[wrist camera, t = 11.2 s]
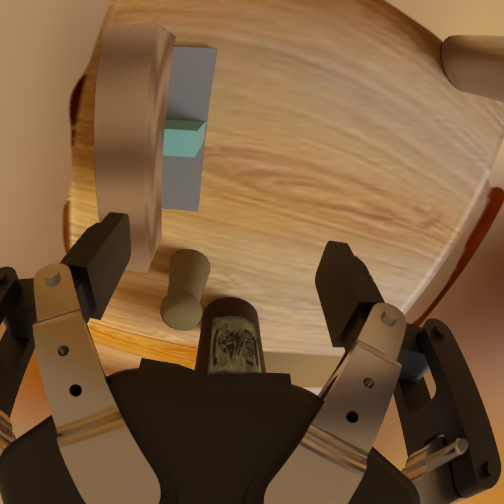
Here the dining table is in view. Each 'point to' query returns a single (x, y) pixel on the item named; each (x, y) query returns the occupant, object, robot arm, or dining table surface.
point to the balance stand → (186, 126)
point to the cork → (185, 290)
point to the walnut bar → (132, 131)
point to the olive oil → (230, 339)
